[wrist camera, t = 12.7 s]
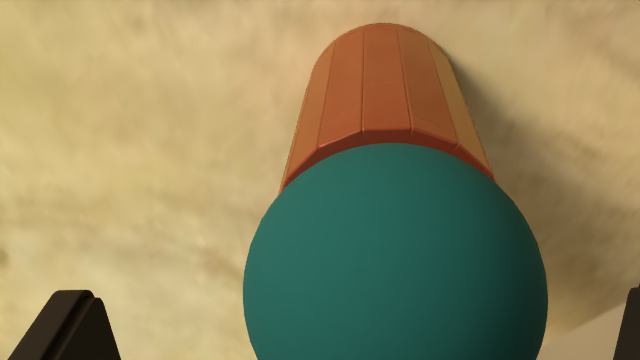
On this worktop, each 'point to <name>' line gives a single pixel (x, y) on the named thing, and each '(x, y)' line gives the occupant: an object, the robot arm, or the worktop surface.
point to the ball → (394, 263)
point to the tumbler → (382, 100)
